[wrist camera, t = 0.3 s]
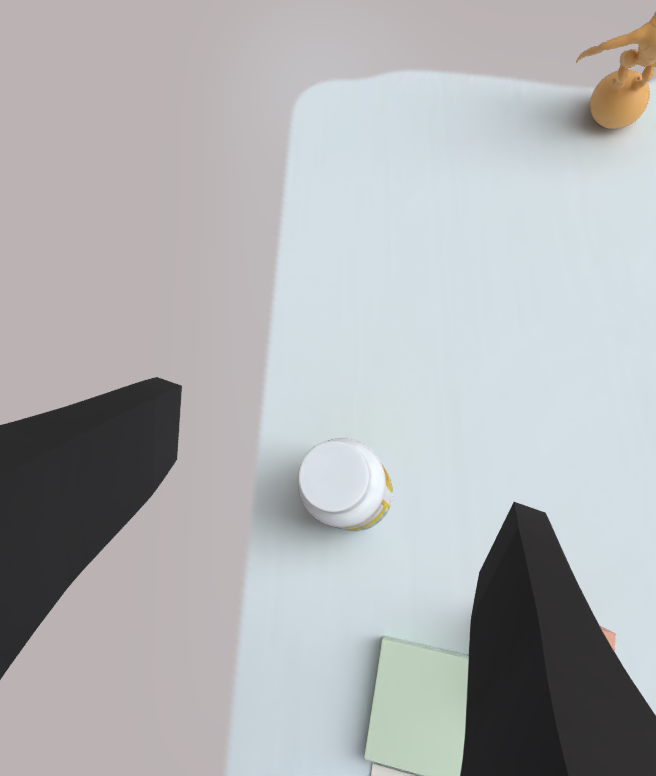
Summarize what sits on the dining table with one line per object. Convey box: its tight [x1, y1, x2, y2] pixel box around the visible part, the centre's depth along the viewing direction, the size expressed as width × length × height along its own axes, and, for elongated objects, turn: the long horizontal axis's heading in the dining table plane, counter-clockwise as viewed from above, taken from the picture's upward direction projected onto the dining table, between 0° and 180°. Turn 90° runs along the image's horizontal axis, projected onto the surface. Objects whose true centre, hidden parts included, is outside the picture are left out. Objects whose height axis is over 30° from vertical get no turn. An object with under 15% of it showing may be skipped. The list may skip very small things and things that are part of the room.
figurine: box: [576, 13, 656, 129], centre depth 39 cm, size 8×6×12 cm
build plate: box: [364, 636, 469, 776], centre depth 36 cm, size 7×7×1 cm
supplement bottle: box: [298, 438, 393, 531], centre depth 36 cm, size 5×5×10 cm
